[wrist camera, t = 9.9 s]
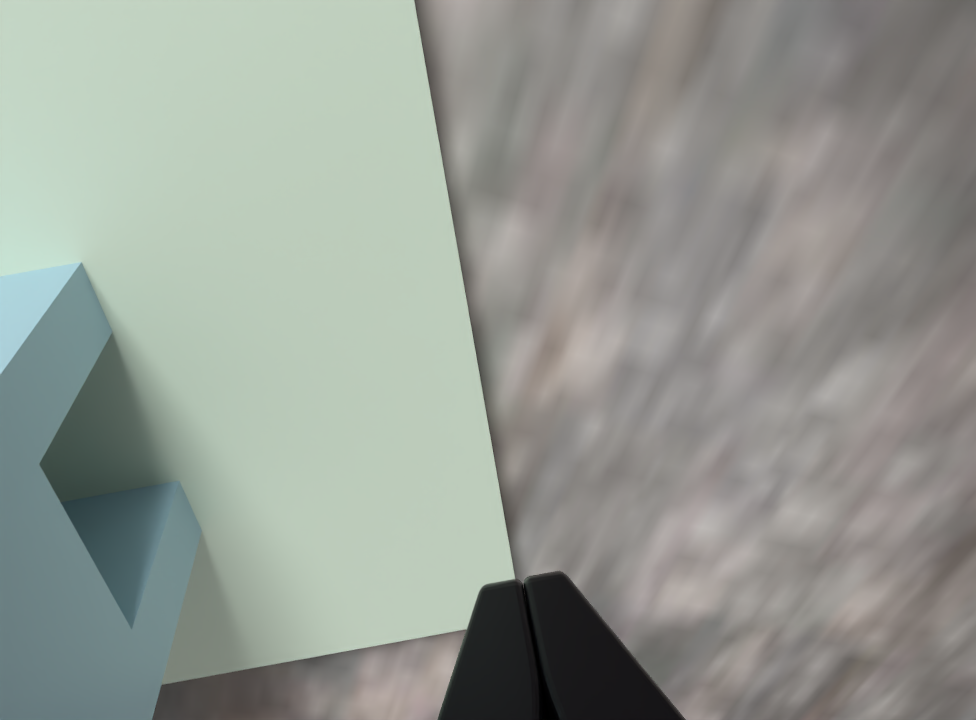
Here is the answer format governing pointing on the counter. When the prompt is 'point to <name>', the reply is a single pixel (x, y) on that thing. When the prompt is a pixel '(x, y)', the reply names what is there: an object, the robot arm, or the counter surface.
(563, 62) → the counter surface
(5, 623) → the blue notched block
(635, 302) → the counter surface
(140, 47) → the pale green flat slab
